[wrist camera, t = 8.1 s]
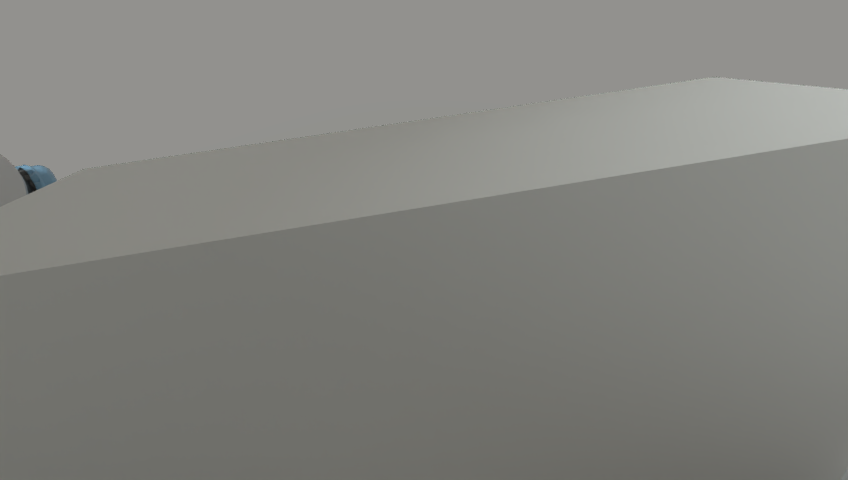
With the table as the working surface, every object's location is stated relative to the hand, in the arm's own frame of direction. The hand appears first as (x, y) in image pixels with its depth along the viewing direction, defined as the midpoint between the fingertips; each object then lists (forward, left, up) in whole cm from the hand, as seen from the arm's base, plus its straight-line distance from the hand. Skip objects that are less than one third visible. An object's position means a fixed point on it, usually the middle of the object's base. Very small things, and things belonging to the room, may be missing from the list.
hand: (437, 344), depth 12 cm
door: (+3, -2, -8) cm, 9 cm away
